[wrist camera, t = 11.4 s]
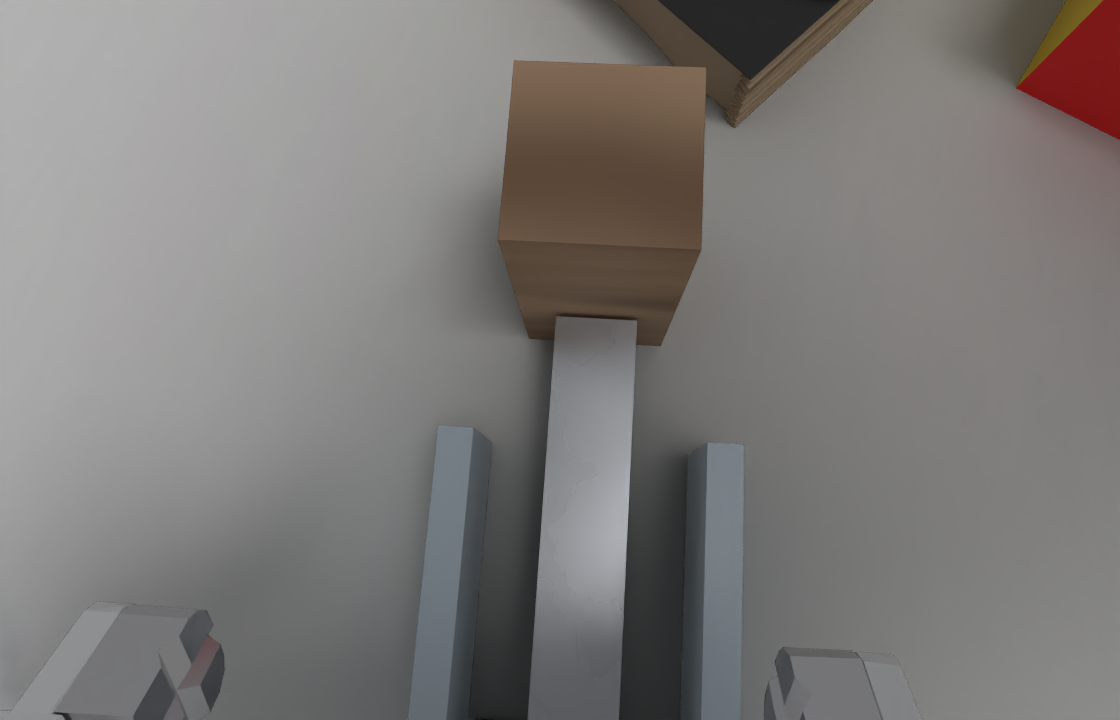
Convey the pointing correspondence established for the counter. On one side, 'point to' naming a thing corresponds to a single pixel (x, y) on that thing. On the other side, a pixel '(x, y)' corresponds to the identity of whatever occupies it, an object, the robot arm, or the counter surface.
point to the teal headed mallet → (584, 523)
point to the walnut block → (602, 192)
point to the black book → (742, 41)
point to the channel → (457, 570)
